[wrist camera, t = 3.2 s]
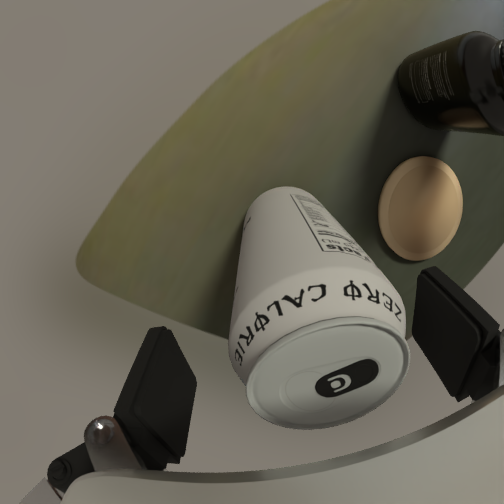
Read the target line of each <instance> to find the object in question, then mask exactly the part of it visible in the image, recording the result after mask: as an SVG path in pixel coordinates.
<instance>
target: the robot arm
mask: <svg viewBox="0 0 504 504" xmlns="http://www.w3.org/2000/svg"><path fill="white" fill-rule="evenodd" d="M499 326H500V325H499V324H498V323H497V322H496V321H495V320H494V319H493V318H492V317H491V316H490V315H489V314H488V313H487V312H486V311H485V310H484V309H483V308H482V307H481V306H480V305H479V304H478V303H477V302H476V301H475V300H474V299H473V298H471V297H470V296H469V295H468V294H467V293H466V292H465V291H464V290H463V289H462V288H460V287H459V286H458V285H457V284H456V283H455V282H454V281H453V280H451V279H450V278H449V277H448V276H447V275H446V274H444V273H443V272H442V271H441V270H440V269H438V268H437V267H436V266H433V267H430V268H427V269H423V270H422V271H421V273H420V275H418V278H417V290H416V300H415V309H414V317H413V325H412V335H413V337H414V339H415V341H416V342H417V344H418V345H419V346H420V348H421V350H422V351H423V353H424V354H425V356H426V357H427V359H428V360H429V362H430V363H431V365H432V366H433V368H434V370H435V371H436V373H437V374H438V376H439V377H440V379H441V381H442V382H443V384H444V386H445V387H446V389H447V390H448V392H449V394H450V395H451V396H452V397H454V396H455V398H456V400H457V401H458V402H460V401H461V400H463V399H465V398H467V397H469V395H470V397H471V398H472V403H471V404H470V405H468V406H466V407H465V408H463V409H461V410H459V411H457V412H455V413H454V414H452V415H450V416H448V417H446V418H444V419H442V420H440V421H438V422H436V423H434V424H432V425H429V426H427V427H425V428H422V429H420V430H418V431H415V432H413V433H411V434H408V435H406V436H403V437H401V438H398V439H395V440H393V441H390V442H387V443H384V444H381V445H378V446H375V447H372V448H369V449H366V450H362V451H359V452H356V453H352V454H348V455H345V456H341V457H337V458H332V459H328V460H324V461H319V462H314V463H309V464H303V465H298V466H291V467H284V468H277V469H269V470H259V471H246V472H227V473H190V472H188V473H187V472H169V471H167V470H166V466H167V463H175V464H179V463H180V458H181V457H183V456H184V454H185V450H186V444H187V438H188V432H189V426H190V420H191V414H192V408H193V403H194V397H195V392H196V387H197V382H196V377H195V375H194V374H193V372H192V370H191V368H190V366H189V364H188V362H187V361H186V359H185V357H184V355H183V353H182V351H181V349H180V347H179V345H178V343H177V341H176V339H175V337H174V335H173V333H172V331H171V330H169V329H168V330H167V328H166V327H164V326H162V327H154V328H150V329H149V330H148V332H147V335H146V337H145V339H144V341H143V343H142V346H141V348H140V350H139V352H138V354H137V357H136V359H135V361H134V363H133V366H132V368H131V370H130V372H129V375H128V377H127V379H126V382H125V384H124V386H123V389H122V391H121V394H120V396H119V399H118V401H117V403H116V406H115V408H114V412H115V413H114V416H113V417H111V416H100V417H98V418H95V419H94V420H92V421H91V422H90V423H89V424H88V425H87V427H86V429H85V431H84V441H85V442H84V443H82V444H81V445H79V446H77V447H76V448H74V449H72V450H70V451H69V452H67V453H65V454H63V455H62V456H60V457H58V458H56V459H55V460H54V461H52V463H51V464H50V465H49V468H48V473H47V476H48V480H47V479H46V478H43V479H42V480H41V481H40V482H39V483H38V484H37V485H36V486H35V487H34V488H33V489H32V490H31V491H30V492H29V493H28V494H27V495H26V496H25V497H24V498H23V499H22V500H21V502H20V504H504V329H503V330H502V332H500V331H499V330H498V329H499Z"/></svg>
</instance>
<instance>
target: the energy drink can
mask: <svg viewBox="0 0 504 504" xmlns="http://www.w3.org/2000/svg"><path fill="white" fill-rule="evenodd" d="M405 330H406V318H405V308H404V305H403V302H402V299H401V297H400V295H399V294H398V292H397V291H396V290H395V288H394V287H393V285H392V284H391V283H390V282H389V280H388V279H387V278H386V277H385V275H384V274H383V273H382V272H381V271H380V269H379V268H378V267H377V266H376V265H375V263H374V262H373V261H372V260H371V259H370V257H369V256H368V255H367V254H366V253H365V252H364V250H363V249H362V248H361V247H360V246H359V245H358V244H357V242H356V241H355V240H354V239H353V238H352V237H351V236H350V235H349V233H348V232H347V231H346V230H345V229H344V228H343V227H342V226H341V225H340V224H339V222H338V221H337V220H336V219H335V218H334V217H333V216H332V215H331V214H330V213H329V212H328V211H327V210H326V209H325V208H324V206H323V205H322V204H321V203H320V202H319V201H318V200H317V199H316V198H315V197H314V196H312V195H311V194H310V193H308V192H306V191H304V190H302V189H299V188H295V187H278V188H274V189H271V190H268V191H266V192H265V193H263V194H261V195H260V196H259V197H258V198H257V199H256V200H255V201H254V202H253V203H252V204H251V206H250V207H249V209H248V211H247V214H246V216H245V221H244V227H243V234H242V242H241V249H240V256H239V264H238V271H237V279H236V286H235V294H234V301H233V309H232V317H231V325H230V333H229V341H228V346H229V357H230V360H231V363H232V366H233V368H234V370H235V372H236V373H237V374H238V376H239V377H240V379H241V380H242V382H243V383H244V384H245V386H246V397H247V399H248V402H249V405H250V406H251V407H252V409H253V410H254V411H255V412H256V413H257V414H258V415H259V416H261V417H262V418H263V419H265V420H267V421H269V422H271V423H273V424H275V425H279V426H282V427H285V428H293V429H304V430H307V429H308V430H312V429H322V428H329V427H334V426H338V425H341V424H344V423H348V422H350V421H353V420H355V419H357V418H360V417H362V416H364V415H366V414H367V413H369V412H371V411H373V410H374V409H376V408H377V407H378V406H380V405H381V404H383V403H384V402H385V401H386V400H387V399H388V398H389V397H390V396H391V395H393V393H394V392H395V391H396V390H397V388H398V387H399V386H400V385H401V383H402V382H403V380H404V378H405V376H406V374H407V371H408V368H409V364H410V351H409V347H408V344H407V342H406V340H405Z"/></svg>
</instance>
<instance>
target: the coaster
mask: <svg viewBox="0 0 504 504" xmlns="http://www.w3.org/2000/svg"><path fill="white" fill-rule="evenodd" d="M462 208H463V198H462V191H461V187H460V184H459V181H458V179H457V177H456V175H455V174H454V172H453V171H452V170H451V168H450V167H449V166H448V165H446V164H445V163H444V162H442V161H440V160H439V159H436V158H432V157H427V156H417V157H413V158H410V159H407V160H406V161H404V162H402V163H401V164H400V165H398V166H397V167H396V168H395V169H394V170H393V171H392V173H391V174H390V175H389V177H388V178H387V180H386V182H385V184H384V186H383V188H382V191H381V194H380V198H379V203H378V222H379V227H380V231H381V234H382V236H383V238H384V240H385V242H386V243H387V245H388V246H389V247H390V248H391V249H392V250H393V251H394V252H395V253H396V254H398V255H399V256H401V257H403V258H405V259H408V260H414V261H419V260H425V259H428V258H431V257H433V256H435V255H436V254H438V253H439V252H441V251H442V250H443V249H444V248H445V247H446V246H447V245H448V244H449V242H450V241H451V240H452V238H453V236H454V235H455V233H456V231H457V229H458V226H459V223H460V220H461V216H462Z"/></svg>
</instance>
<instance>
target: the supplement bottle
mask: <svg viewBox="0 0 504 504" xmlns="http://www.w3.org/2000/svg"><path fill="white" fill-rule="evenodd" d="M398 85H399V90H400V94H401V97H402V99H403V101H404V104H405V105H406V107H407V109H408V110H409V111H410V113H411V114H412V115H413V116H414V117H415V118H416V119H417V120H418V121H419V122H420V123H422V124H423V125H425V126H426V127H429V128H431V129H435V130H444V131H459V132H472V133H482V134H491V135H499V136H504V39H503V40H500V41H499V40H498V39H497V38H495V37H494V36H492V35H490V34H487V33H485V32H481V31H472V32H468V33H465V34H462V35H459V36H456V37H453V38H450V39H448V40H445V41H442V42H440V43H437V44H434V45H432V46H429V47H427V48H424V49H422V50H420V51H417V52H415V53H413V54H411V55H409V56H408V57H406V58H405V59H404V61H403V62H402V64H401V66H400V69H399V73H398Z"/></svg>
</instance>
